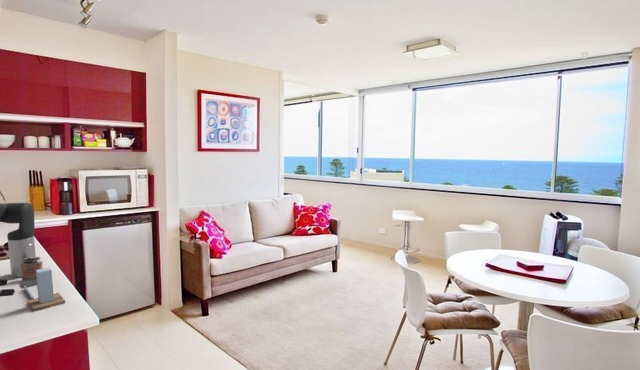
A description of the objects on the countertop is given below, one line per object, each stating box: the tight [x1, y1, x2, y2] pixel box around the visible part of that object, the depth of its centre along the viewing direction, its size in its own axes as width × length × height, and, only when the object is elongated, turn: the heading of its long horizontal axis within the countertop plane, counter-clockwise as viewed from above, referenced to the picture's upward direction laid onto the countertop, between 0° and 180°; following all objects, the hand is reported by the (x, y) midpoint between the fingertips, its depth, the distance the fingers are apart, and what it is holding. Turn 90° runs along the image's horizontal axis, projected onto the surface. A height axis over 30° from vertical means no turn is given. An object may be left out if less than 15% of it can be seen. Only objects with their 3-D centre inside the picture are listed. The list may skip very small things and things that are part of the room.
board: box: [27, 292, 66, 312], centre depth 135 cm, size 10×10×1 cm
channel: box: [23, 286, 35, 300], centre depth 145 cm, size 16×7×2 cm, turn 48°
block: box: [36, 267, 54, 304], centre depth 135 cm, size 4×4×12 cm
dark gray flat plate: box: [19, 280, 37, 289], centre depth 153 cm, size 6×7×1 cm
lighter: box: [21, 256, 44, 282], centre depth 159 cm, size 8×3×10 cm, turn 105°
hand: (10, 287), depth 128 cm, fingers open, 8 cm apart
